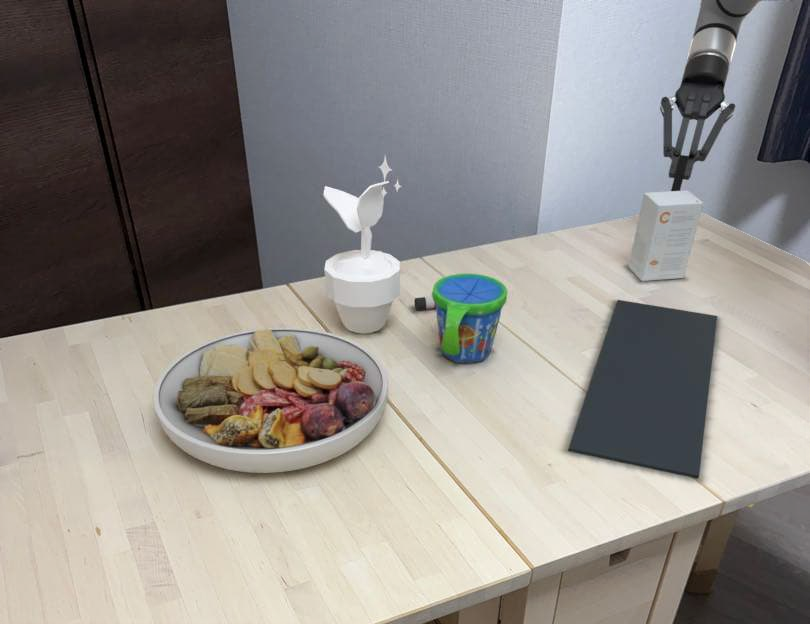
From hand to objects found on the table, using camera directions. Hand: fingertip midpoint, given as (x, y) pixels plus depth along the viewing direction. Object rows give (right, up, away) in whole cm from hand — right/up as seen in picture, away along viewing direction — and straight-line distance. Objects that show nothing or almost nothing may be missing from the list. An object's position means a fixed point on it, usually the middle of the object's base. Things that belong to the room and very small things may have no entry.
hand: (674, 194), depth 133 cm
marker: (-39, -23, -9) cm, 46 cm away
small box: (-3, -14, +1) cm, 14 cm away
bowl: (-65, -45, -33) cm, 86 cm away
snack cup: (-39, -33, -20) cm, 55 cm away
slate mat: (-12, -38, -25) cm, 47 cm away
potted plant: (-55, -27, -14) cm, 63 cm away
